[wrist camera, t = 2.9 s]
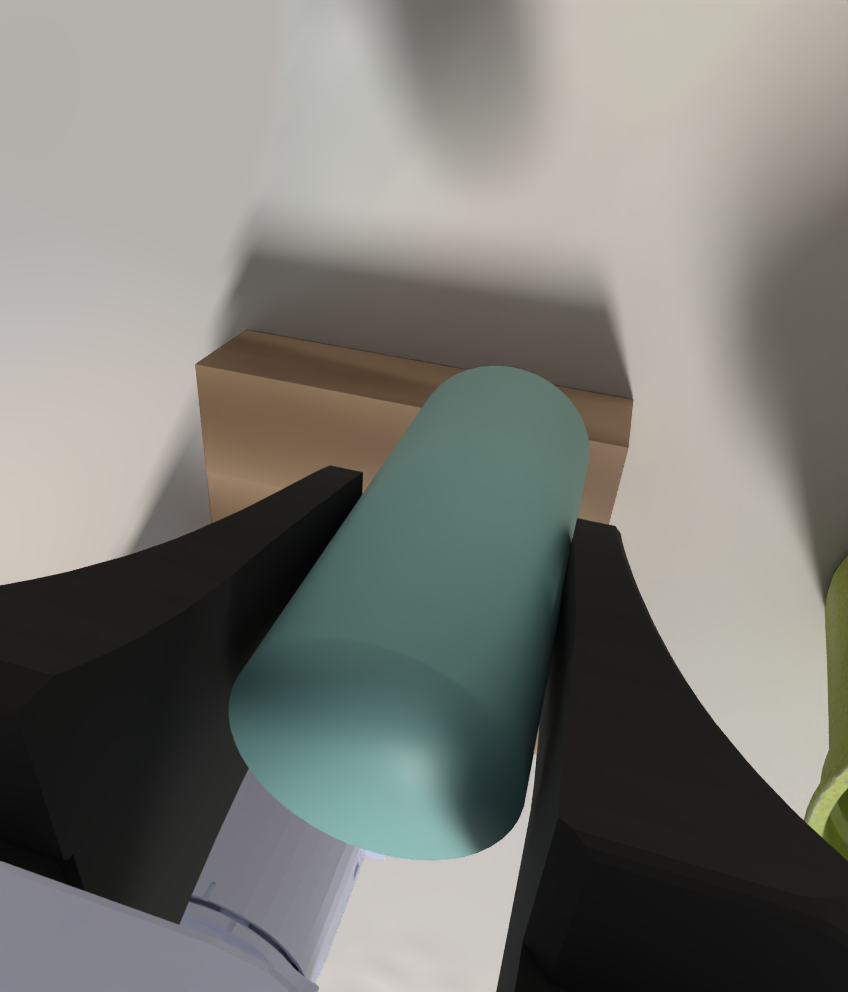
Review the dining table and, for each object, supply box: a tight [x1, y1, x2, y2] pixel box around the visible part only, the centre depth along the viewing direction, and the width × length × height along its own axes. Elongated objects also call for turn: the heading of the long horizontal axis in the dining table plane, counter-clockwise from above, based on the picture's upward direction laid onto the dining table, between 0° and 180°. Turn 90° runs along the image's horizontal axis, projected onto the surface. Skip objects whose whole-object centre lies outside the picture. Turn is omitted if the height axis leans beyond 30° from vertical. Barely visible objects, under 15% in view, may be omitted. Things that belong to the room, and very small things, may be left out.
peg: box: [229, 366, 589, 860], centre depth 12 cm, size 4×4×8 cm
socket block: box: [195, 330, 633, 754], centre depth 24 cm, size 12×12×3 cm
